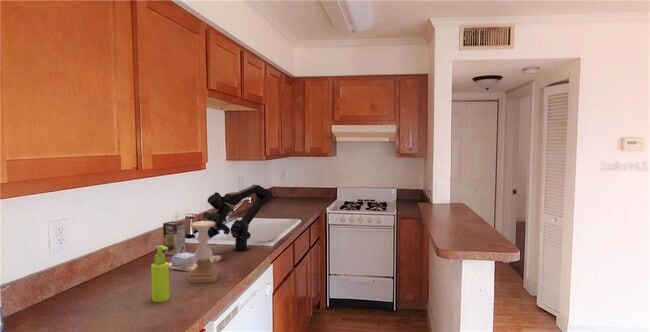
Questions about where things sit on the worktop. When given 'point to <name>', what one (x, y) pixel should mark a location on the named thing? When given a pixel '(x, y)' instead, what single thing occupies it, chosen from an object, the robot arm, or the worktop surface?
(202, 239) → the candle holder
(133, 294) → the worktop surface
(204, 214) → the robot arm
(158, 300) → the soap dispenser
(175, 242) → the coffee box
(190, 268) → the pocket board
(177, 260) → the medicine box
